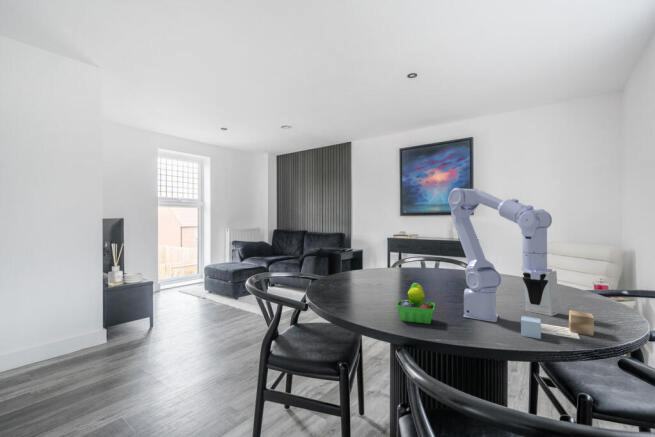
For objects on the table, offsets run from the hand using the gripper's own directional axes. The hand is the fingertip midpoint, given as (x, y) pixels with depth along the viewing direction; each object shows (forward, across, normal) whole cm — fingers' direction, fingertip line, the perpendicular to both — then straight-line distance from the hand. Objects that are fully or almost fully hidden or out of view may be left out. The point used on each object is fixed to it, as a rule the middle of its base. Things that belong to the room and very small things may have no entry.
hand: (534, 301), depth 86 cm
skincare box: (+10, +26, -2) cm, 28 cm away
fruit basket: (+10, -4, +32) cm, 34 cm away
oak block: (+9, +10, -11) cm, 18 cm away
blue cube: (+10, -1, +1) cm, 10 cm away
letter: (+9, +7, -4) cm, 12 cm away
